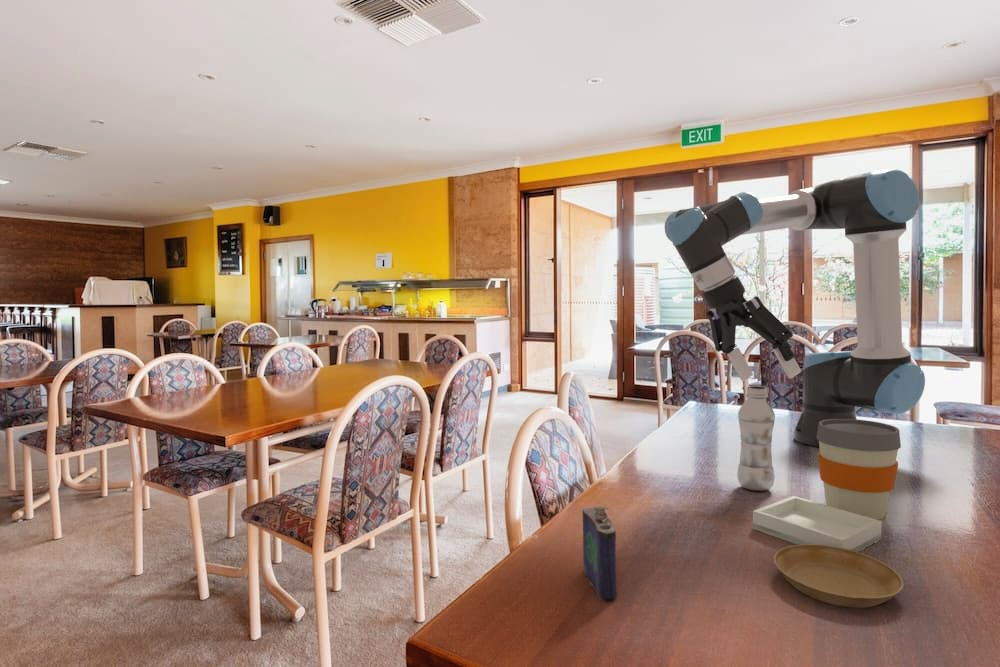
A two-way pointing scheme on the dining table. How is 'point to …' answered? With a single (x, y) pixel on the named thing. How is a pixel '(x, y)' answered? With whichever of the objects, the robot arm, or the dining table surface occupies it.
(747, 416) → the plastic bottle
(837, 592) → the plant saucer
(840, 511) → the tray
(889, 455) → the reusable coffee cup
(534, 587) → the dining table surface
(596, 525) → the flask
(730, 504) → the dining table surface
